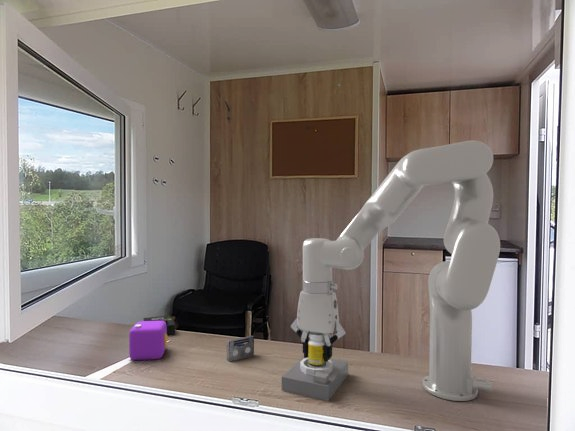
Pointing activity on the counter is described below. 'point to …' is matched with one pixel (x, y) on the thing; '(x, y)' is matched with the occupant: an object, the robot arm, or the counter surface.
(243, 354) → the mini dv tape
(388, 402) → the counter surface
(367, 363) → the counter surface
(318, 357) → the supplement bottle
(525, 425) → the counter surface
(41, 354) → the counter surface
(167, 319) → the battery charger
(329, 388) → the grey ring holder base
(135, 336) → the toy camera
